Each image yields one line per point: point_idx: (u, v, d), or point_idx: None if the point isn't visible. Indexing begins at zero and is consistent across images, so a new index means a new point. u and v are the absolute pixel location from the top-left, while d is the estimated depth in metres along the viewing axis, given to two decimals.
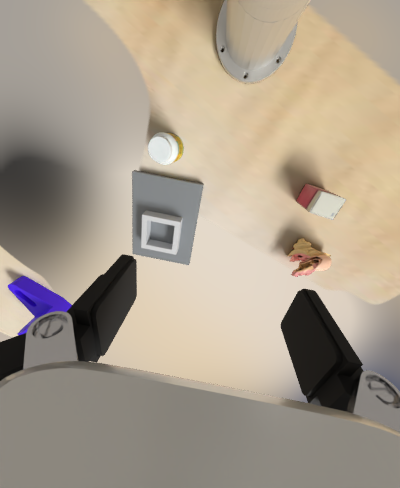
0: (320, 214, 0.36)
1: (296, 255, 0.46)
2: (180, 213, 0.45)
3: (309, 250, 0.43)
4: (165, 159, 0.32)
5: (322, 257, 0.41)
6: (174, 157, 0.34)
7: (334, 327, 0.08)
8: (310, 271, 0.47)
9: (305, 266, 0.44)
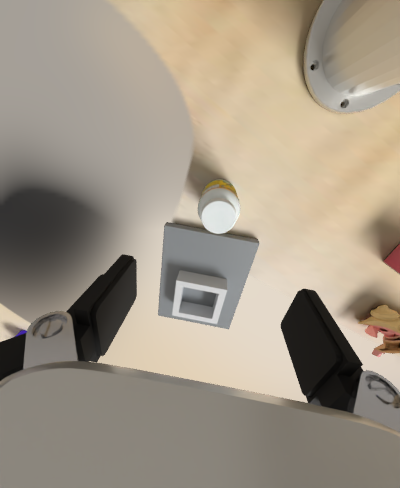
0: None
1: (377, 327, 0.35)
2: (224, 274, 0.35)
3: None
4: (226, 230, 0.22)
5: None
6: None
7: (334, 327, 0.08)
8: None
9: (393, 345, 0.33)
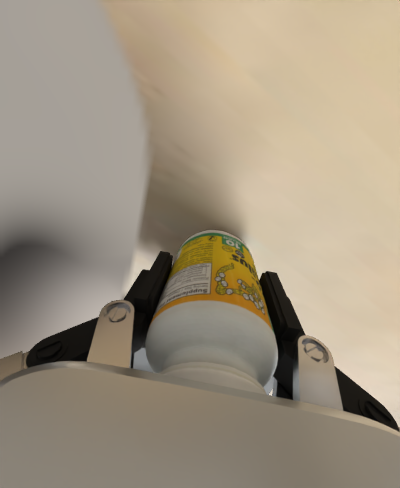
0: None
1: None
2: None
3: None
4: None
5: None
6: None
7: (284, 301, 0.09)
8: None
9: None
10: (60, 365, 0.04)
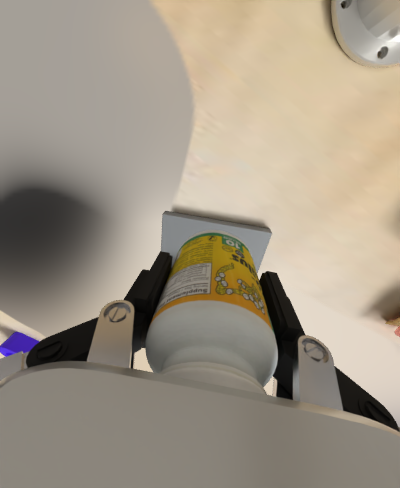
0: None
1: None
2: None
3: None
4: None
5: None
6: None
7: (284, 301, 0.09)
8: None
9: None
10: (60, 365, 0.04)
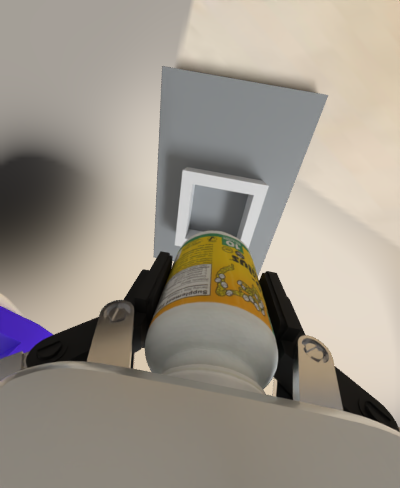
0: None
1: None
2: (260, 171, 0.21)
3: None
4: None
5: None
6: None
7: (284, 301, 0.09)
8: None
9: None
10: (60, 365, 0.04)
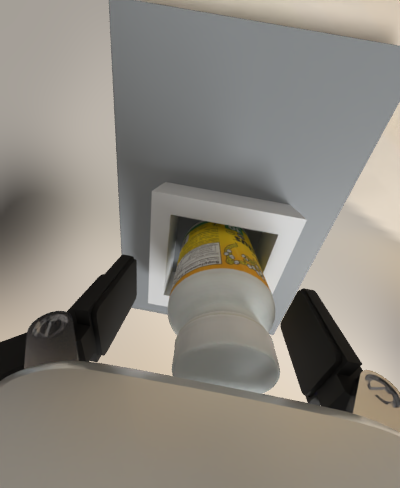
0: None
1: None
2: (285, 189, 0.13)
3: None
4: None
5: None
6: None
7: (333, 327, 0.08)
8: None
9: None
10: (60, 365, 0.04)
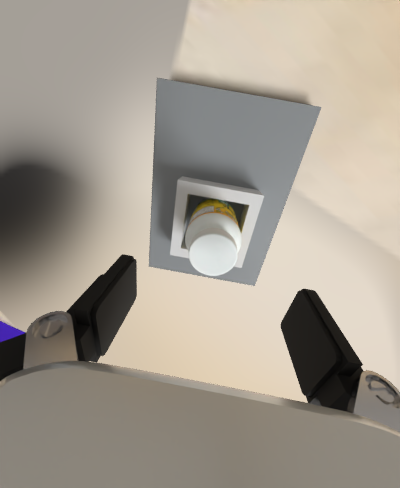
0: None
1: None
2: (255, 180, 0.21)
3: None
4: (223, 272, 0.16)
5: None
6: None
7: (334, 327, 0.08)
8: None
9: None
10: (60, 365, 0.04)
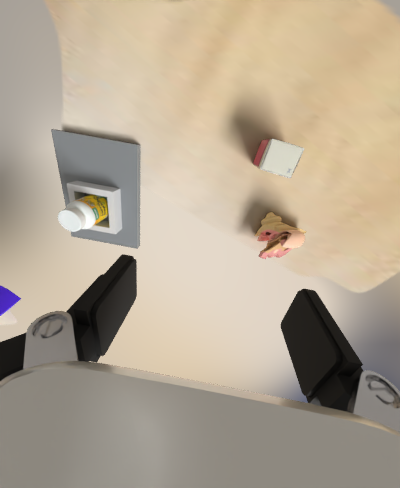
0: (274, 171, 0.28)
1: (264, 233, 0.38)
2: (116, 183, 0.38)
3: (278, 225, 0.35)
4: (77, 229, 0.32)
5: (292, 231, 0.33)
6: (91, 224, 0.34)
7: (334, 327, 0.08)
8: (282, 252, 0.39)
9: (274, 245, 0.36)
10: (60, 365, 0.04)
